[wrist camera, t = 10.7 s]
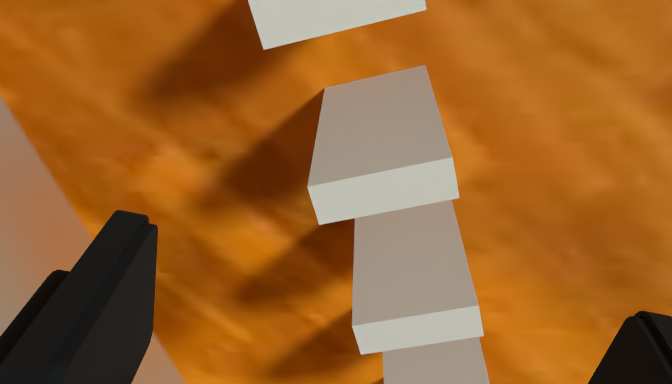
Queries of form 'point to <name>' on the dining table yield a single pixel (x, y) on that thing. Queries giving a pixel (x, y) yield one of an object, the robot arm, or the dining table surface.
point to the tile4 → (380, 148)
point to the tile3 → (411, 280)
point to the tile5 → (321, 17)
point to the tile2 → (437, 364)
